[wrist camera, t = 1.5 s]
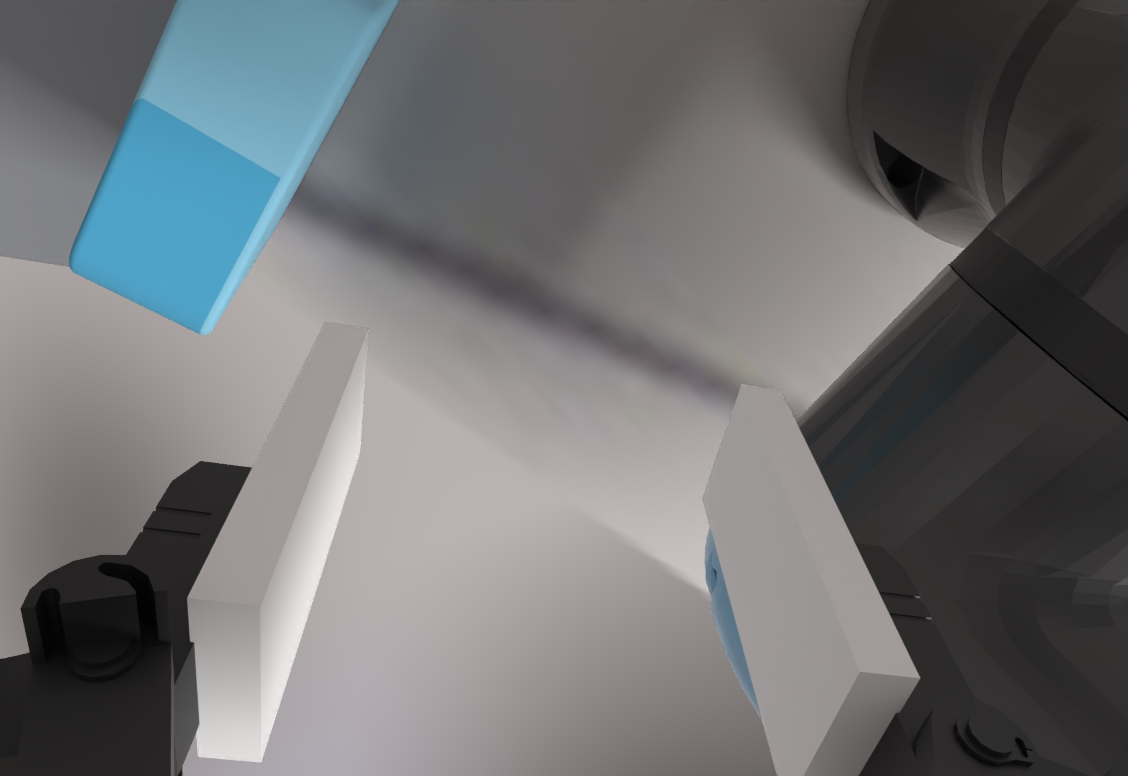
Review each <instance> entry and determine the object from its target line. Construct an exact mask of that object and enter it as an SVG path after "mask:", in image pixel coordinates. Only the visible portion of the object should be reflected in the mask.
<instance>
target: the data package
mask: <svg viewBox="0 0 1128 776" xmlns="http://www.w3.org/2000/svg"><path fill="white" fill-rule="evenodd" d="M398 2H399V0H177V2H176V4H175V6H174V9H173V11H172V13H171V16H170V18H169V20H168V23H167V25H166V27H165V30H164V32H163V34H162V37H161V39H160V41H159V44H158V46H157V48H156V51H155V53H154V55H153V58H152V60H151V62H150V65H149V67H148V69H147V72H146V74H145V77H144V79H143V81H142V84H141V86H140V88H139V91H138V93H137V95H136V98H135V100H134V102H133V105H132V107H131V109H130V112H129V114H128V116H127V119H126V121H125V123H124V126H123V128H122V130H121V133H120V135H119V137H118V140H117V142H116V144H115V147H114V149H113V151H112V154H111V156H110V158H109V161H108V163H107V166H106V168H105V170H104V173H103V175H102V177H101V180H100V182H99V184H98V187H97V189H96V191H95V194H94V196H93V198H92V201H91V203H90V205H89V208H88V210H87V212H86V215H85V217H84V219H83V222H82V224H81V226H80V229H79V231H78V233H77V236H76V238H75V241H74V243H73V246H72V248H71V252H70V256H69V266H70V268H71V270H72V271H73V272H74V273H76V274H78V275H80V276H82V277H84V278H86V279H88V280H90V281H92V282H94V283H96V284H98V285H100V286H102V287H105V288H106V289H109V290H111V291H113V292H115V293H117V294H119V295H121V296H123V297H125V298H127V299H129V300H131V301H133V302H135V303H137V304H139V305H141V306H144V307H145V308H147V309H150V310H152V311H154V312H156V313H158V314H160V315H162V316H164V317H166V318H168V319H170V320H172V321H174V322H176V323H178V324H180V325H182V326H184V327H186V328H188V329H190V330H192V331H195V332H196V333H198V334H201V335H207V334H209V333H210V332H212V330H213V329H214V327H215V326H216V324H217V322H218V321H219V319H220V317H221V316H222V314H223V313H224V311H225V309H226V308H227V306H228V304H229V303H230V301H231V299H232V298H233V296H234V295H235V293H236V291H237V290H238V288H239V287H240V285H241V283H242V282H243V280H244V278H245V277H246V275H247V273H248V272H249V270H250V269H251V267H252V265H253V264H254V262H255V260H256V259H257V257H258V256H259V254H260V252H261V251H262V249H263V247H264V246H265V244H266V243H267V241H268V239H269V238H270V236H271V234H272V233H273V231H274V229H275V228H276V226H277V224H278V222H279V221H280V219H281V217H282V215H283V214H284V212H285V210H286V208H287V206H288V205H289V203H290V201H291V199H292V197H293V196H294V194H295V192H296V190H297V188H298V186H299V185H300V183H301V181H302V179H303V177H304V175H305V173H306V172H307V170H308V168H309V166H310V164H311V162H312V161H313V159H314V157H315V155H316V153H317V151H318V150H319V148H320V146H321V144H322V142H323V140H324V139H325V137H326V135H327V133H328V131H329V129H330V128H331V126H332V124H333V122H334V120H335V118H336V117H337V115H338V113H339V111H340V109H341V107H342V105H343V104H344V102H345V100H346V98H347V96H348V94H349V93H350V91H351V89H352V87H353V85H354V83H355V82H356V80H357V78H358V76H359V74H360V72H361V71H362V69H363V67H364V65H365V63H366V61H367V60H368V58H369V56H370V54H371V52H372V50H373V48H374V47H375V45H376V43H377V41H378V39H379V37H380V36H381V34H382V32H383V30H384V28H385V26H386V25H387V23H388V21H389V19H390V17H391V15H392V14H393V12H394V10H395V8H396V6H397V4H398Z"/></svg>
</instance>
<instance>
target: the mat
mask: <svg viewBox="0 0 1128 776" xmlns="http://www.w3.org/2000/svg"><path fill="white" fill-rule="evenodd" d="M176 2H177V0H0V256H3V257H10V258H16V259H23V260H30V261H36V262H43V263H49V264H56V265H62V266H69V256H70V252H71V248H72V246H73V243H74V241H75V238H76V236H77V233H78V231H79V229H80V226H81V224H82V222H83V219H84V217H85V215H86V212H87V210H88V208H89V205H90V203H91V201H92V198H93V196H94V194H95V191H96V189H97V187H98V184H99V182H100V180H101V177H102V175H103V173H104V170H105V168H106V166H107V163H108V161H109V158H110V156H111V154H112V151H113V149H114V147H115V144H116V142H117V140H118V137H119V135H120V133H121V130H122V128H123V126H124V123H125V121H126V119H127V116H128V114H129V112H130V109H131V107H132V105H133V102H134V100H135V98H136V95H137V93H138V91H139V88H140V86H141V84H142V81H143V79H144V77H145V74H146V72H147V69H148V67H149V65H150V62H151V60H152V58H153V55H154V53H155V51H156V48H157V46H158V44H159V41H160V39H161V37H162V34H163V32H164V30H165V27H166V25H167V23H168V20H169V18H170V16H171V13H172V11H173V9H174V6H175V4H176ZM69 267H70V266H69Z"/></svg>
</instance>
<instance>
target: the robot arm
mask: <svg viewBox="0 0 1128 776" xmlns="http://www.w3.org/2000/svg"><path fill="white" fill-rule="evenodd" d="M847 105H848V118H849V126H850V131H851V136H852V140H853V143H854V147H855V150H856V153H857V155H858V158H859V160H860V163H861V165H862V167H863V169H864V171H865V173H866V174H867V176H868V177H869V179H870V181H871V182H872V184H873V185H874V186H875V188H876V189H877V190H878V191H879V193H880V194H881V195H882V196H883V197H884V198H885V199H886V200H887V201H888V202H889V203H890V204H891V205H892V206H893V207H895V208H896V209H897V210H898V211H899V212H900V213H901V214H903V215H904V216H905V217H906V218H907V219H908V220H909V221H911V222H912V223H913V224H915V225H916V226H917V227H919V228H920V229H922V230H924V231H925V232H927V233H929V234H931V235H933V236H935V237H937V238H939V239H941V240H943V241H946V242H948V243H951V244H953V245H956V246H960V247H963V248H965V249H964V250H963V251H962V252H961V253H960V254H959V256H958V257H957V258H956V259H955V260H954V261H953V262H951V264H948V265H947V266H946V267H945V268H944V269H943V270H942V271H941V272H940V273H939V274H938V275H937V276H936V278H935V279H934V280H933V281H932V282H931V283H930V284H929V285H928V286H927V287H926V288H925V289H924V290H923V291H922V292H921V293H920V294H919V295H918V296H917V297H916V298H915V299H914V300H913V301H912V302H911V303H910V304H909V305H908V306H907V307H906V308H905V310H904V311H903V312H902V313H901V314H900V315H899V316H898V317H897V318H896V319H895V320H894V321H893V322H892V323H891V324H890V325H889V326H888V327H887V328H886V329H885V330H884V331H883V332H882V333H881V334H880V335H879V336H878V337H877V338H876V339H875V341H874V342H873V343H872V344H871V345H870V346H869V347H868V348H867V349H866V350H865V351H864V352H863V353H862V354H861V355H860V356H859V357H858V358H857V359H856V360H855V361H854V362H853V363H852V364H851V365H850V366H849V367H848V368H847V369H846V370H845V371H844V373H843V374H842V375H841V376H840V377H839V378H838V379H837V380H836V381H835V382H834V383H833V384H832V385H831V386H830V387H829V388H828V389H827V390H826V391H825V392H824V393H823V394H822V395H821V396H820V397H819V398H818V399H817V400H816V401H815V402H814V403H813V405H812V406H811V407H810V408H809V409H808V410H807V411H806V412H805V413H804V414H803V415H802V416H801V417H800V418H799V419H798V420H797V421H795V418H794V416H793V414H792V412H791V410H790V408H789V406H788V404H787V402H786V400H785V398H784V396H783V394H782V392H781V390H778V389H772V388H765V387H758V386H751V385H745V384H742V385H741V388H740V391H739V393H738V396H737V399H736V402H735V405H734V408H733V411H732V414H731V417H730V420H729V423H728V425H727V428H726V431H725V434H724V437H723V440H722V443H721V446H720V449H719V452H718V455H717V458H716V460H715V463H714V466H713V469H712V472H711V475H710V478H709V481H708V484H707V487H706V490H705V492H704V495H703V502H704V506H705V509H706V513H707V517H708V521H709V524H710V528H709V532H708V536H707V541H706V547H705V570H706V582H707V585H708V588H709V592H710V594H711V598H712V599H711V610H712V615H713V618H714V622H715V625H716V628H717V631H718V634H719V637H720V640H721V642H722V644H723V647H724V650H725V652H726V655H727V657H728V659H729V661H730V663H731V666H732V668H733V670H734V672H735V674H736V676H737V678H738V680H739V682H740V684H741V686H742V688H743V689H744V692H745V693H746V695H747V697H748V698H749V700H750V702H751V703H752V705H753V706H754V708H755V710H756V712H757V713H758V715H759V716H760V718H761V719H762V721H763V725H764V729H765V733H766V736H767V740H768V744H769V747H770V751H771V755H772V758H773V762H774V766H775V770H776V773H777V776H1128V0H871V1H870V3H869V5H868V8H867V10H866V12H865V14H864V17H863V20H862V22H861V25H860V28H859V31H858V34H857V37H856V41H855V44H854V49H853V53H852V57H851V63H850V69H849V77H848V89H847ZM368 333H369V328H363V327H356V326H350V325H343V324H336V323H330V322H325V323H324V325H323V327H322V329H321V331H320V333H319V335H318V337H317V339H316V341H315V343H314V345H313V347H312V349H311V351H310V353H309V355H308V357H307V359H306V361H305V363H304V365H303V367H302V369H301V371H300V373H299V375H298V377H297V379H296V381H295V383H294V385H293V387H292V389H291V391H290V393H289V395H288V397H287V399H286V401H285V403H284V405H283V407H282V409H281V411H280V413H279V415H278V417H277V419H276V421H275V423H274V425H273V427H272V429H271V431H270V433H269V435H268V437H267V439H266V441H265V443H264V445H263V447H262V449H261V451H260V453H259V455H258V457H257V459H256V461H255V463H254V465H253V467H252V468H251V467H243V466H234V465H227V464H219V463H212V462H203V461H200V462H198V463H197V464H196V465H194V466H193V467H191V468H190V469H189V470H187V471H186V472H184V473H183V474H182V475H180V476H179V477H177V478H176V479H174V480H173V481H172V482H171V484H170V485H169V487H168V488H167V490H166V492H165V494H164V495H163V497H162V498H161V500H160V501H159V503H158V505H157V507H156V511H153V513H152V514H151V516H150V517H149V519H148V521H147V522H146V524H145V525H144V527H143V532H140V533H139V535H138V537H137V538H136V540H135V541H134V543H133V545H132V546H131V548H130V550H129V551H128V553H127V554H126V555H98V556H94V557H89V558H85V559H80V560H76V561H72V562H70V563H68V564H66V565H65V566H62V567H60V568H58V569H56V570H54V571H52V572H50V573H48V574H47V575H46V576H45V577H44V578H43V579H41V580H40V581H39V582H38V583H37V584H36V585H35V586H34V587H32V588H31V589H30V590H29V592H28V595H27V597H26V599H25V601H24V603H23V605H22V607H21V613H22V618H23V622H24V627H25V632H26V637H27V641H28V646H29V651H30V652H29V653H26V654H22V655H18V656H13V657H8V658H4V659H0V776H183V772H182V766H183V763H184V761H185V758H186V756H187V754H188V751H189V749H190V746H191V744H192V741H193V739H194V736H195V734H197V748H198V757H206V758H218V759H229V760H240V761H253V762H261V761H262V758H263V755H264V752H265V749H266V746H267V742H268V739H269V736H270V733H271V730H272V727H273V723H274V721H275V718H276V714H277V711H278V708H279V705H280V702H281V699H282V696H283V692H284V689H285V686H286V683H287V680H288V677H289V674H290V671H291V668H292V664H293V661H294V658H295V655H296V652H297V649H298V646H299V642H300V639H301V636H302V633H303V630H304V627H305V624H306V621H307V617H308V614H309V611H310V608H311V605H312V602H313V599H314V596H315V592H316V589H317V586H318V583H319V580H320V576H321V574H322V570H323V567H324V564H325V561H326V558H327V555H328V552H329V549H330V545H331V542H332V539H333V536H334V533H335V530H336V527H337V523H338V520H339V517H340V514H341V511H342V508H343V505H344V502H345V498H346V495H347V492H348V489H349V486H350V483H351V480H352V477H353V474H354V470H355V467H356V464H357V461H358V458H359V455H360V446H361V432H362V417H363V404H364V390H365V375H366V361H367V347H368Z"/></svg>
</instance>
